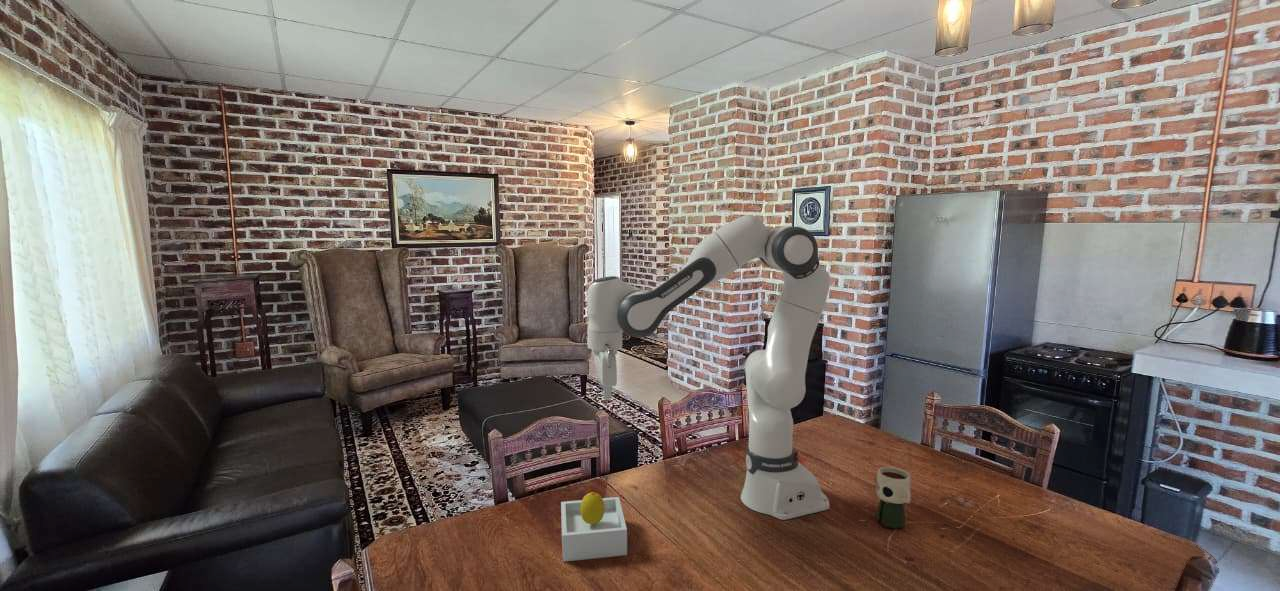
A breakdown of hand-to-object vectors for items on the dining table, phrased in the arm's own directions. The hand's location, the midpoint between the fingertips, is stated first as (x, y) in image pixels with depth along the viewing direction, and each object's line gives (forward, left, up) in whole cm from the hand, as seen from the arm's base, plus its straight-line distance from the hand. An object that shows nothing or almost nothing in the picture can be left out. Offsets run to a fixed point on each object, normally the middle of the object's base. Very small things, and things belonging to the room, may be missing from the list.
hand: (605, 393), depth 134 cm
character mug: (-67, +23, -29) cm, 77 cm away
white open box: (+5, +17, -30) cm, 35 cm away
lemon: (+5, +17, -26) cm, 31 cm away
